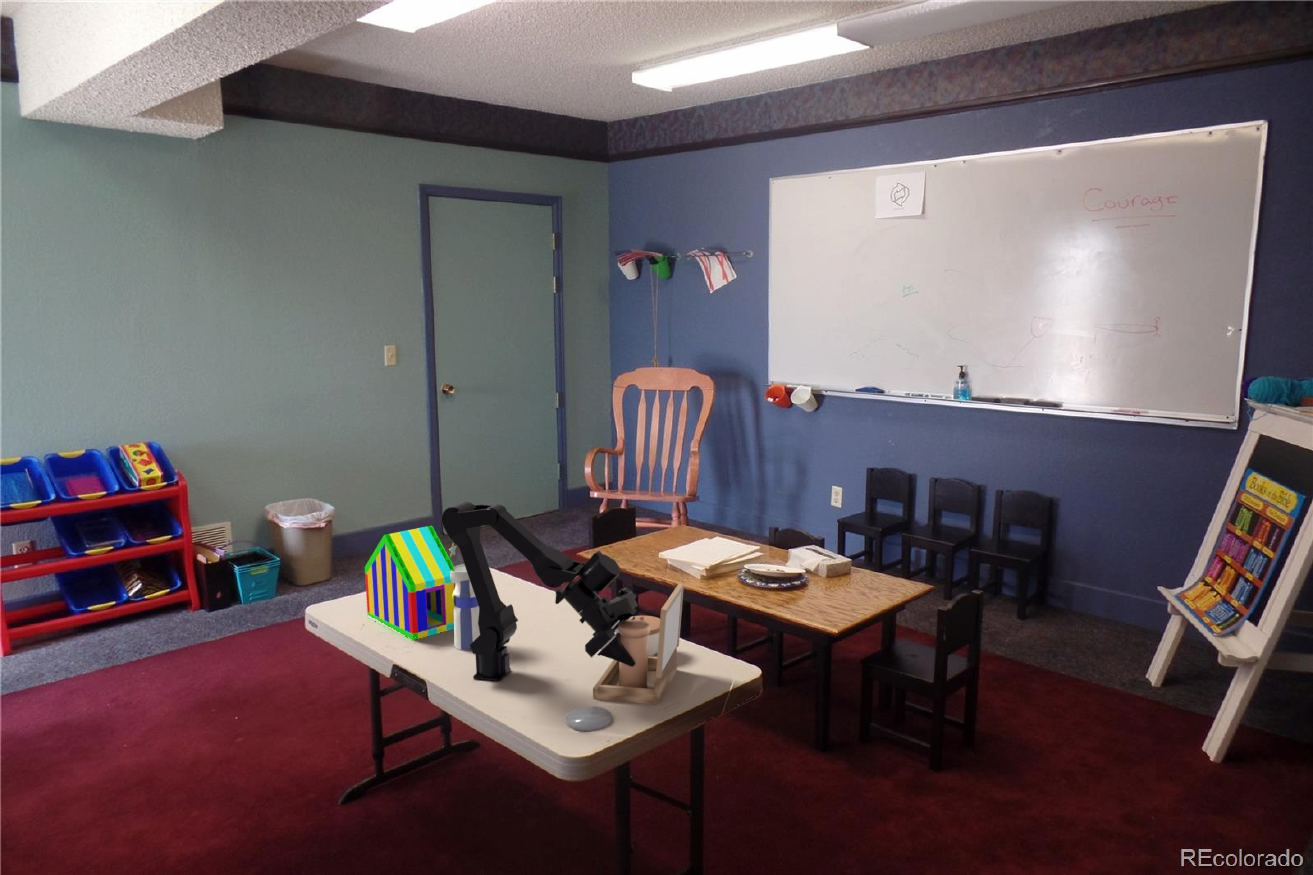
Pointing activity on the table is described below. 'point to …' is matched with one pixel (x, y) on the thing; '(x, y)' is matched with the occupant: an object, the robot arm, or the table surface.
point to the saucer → (588, 718)
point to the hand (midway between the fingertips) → (639, 659)
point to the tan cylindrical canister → (634, 653)
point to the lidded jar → (651, 632)
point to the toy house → (411, 583)
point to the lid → (669, 628)
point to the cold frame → (652, 695)
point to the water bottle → (464, 607)
